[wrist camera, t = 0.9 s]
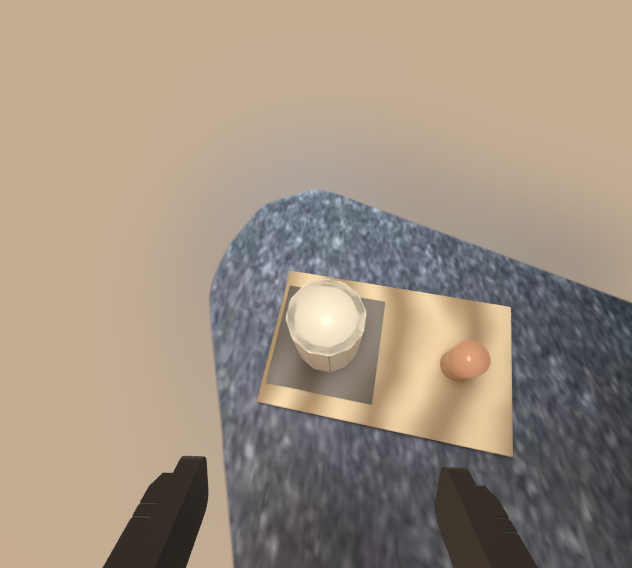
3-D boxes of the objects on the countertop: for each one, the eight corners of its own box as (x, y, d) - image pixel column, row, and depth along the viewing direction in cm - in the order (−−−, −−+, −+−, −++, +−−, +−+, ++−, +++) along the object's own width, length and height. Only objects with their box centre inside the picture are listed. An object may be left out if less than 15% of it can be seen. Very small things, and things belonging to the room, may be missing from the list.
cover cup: (324, 300, 38) (322, 265, 30) (370, 337, 36) (381, 311, 28) (285, 343, 36) (270, 319, 28) (331, 384, 34) (330, 372, 26)
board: (259, 402, 36) (255, 401, 34) (291, 275, 41) (289, 269, 40) (505, 455, 33) (514, 457, 31) (504, 311, 38) (512, 305, 37)
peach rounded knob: (451, 343, 36) (466, 333, 32) (477, 363, 35) (497, 355, 31) (433, 367, 35) (447, 359, 31) (460, 388, 34) (478, 383, 30)
